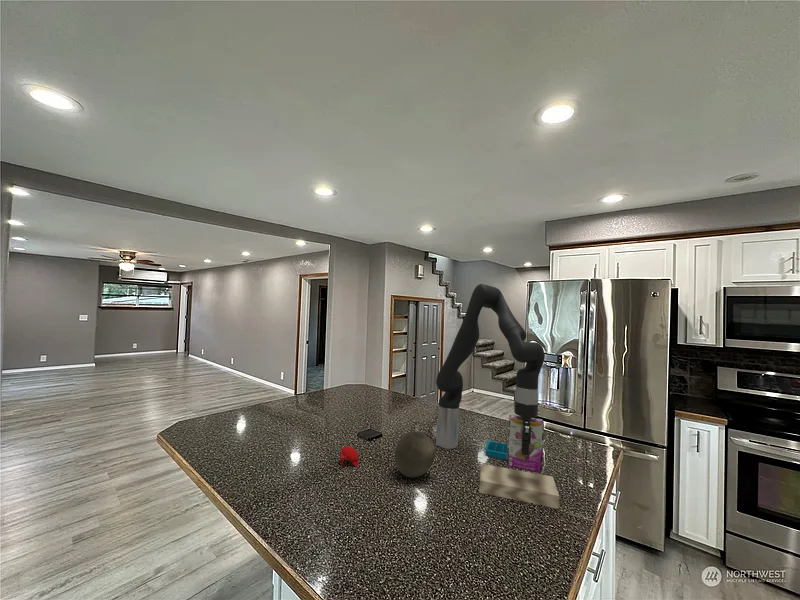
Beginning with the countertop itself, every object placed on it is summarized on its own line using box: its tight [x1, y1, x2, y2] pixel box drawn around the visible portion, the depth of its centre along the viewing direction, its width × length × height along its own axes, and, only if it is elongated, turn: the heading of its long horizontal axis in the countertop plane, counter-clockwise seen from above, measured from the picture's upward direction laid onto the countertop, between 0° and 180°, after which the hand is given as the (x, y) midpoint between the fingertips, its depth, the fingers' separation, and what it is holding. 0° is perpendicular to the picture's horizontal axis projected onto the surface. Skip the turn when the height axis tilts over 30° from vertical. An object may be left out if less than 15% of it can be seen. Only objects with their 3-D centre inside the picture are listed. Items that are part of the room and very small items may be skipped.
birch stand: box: [478, 463, 560, 510], centre depth 110 cm, size 24×13×4 cm, turn 73°
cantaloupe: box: [394, 430, 437, 479], centre depth 117 cm, size 14×14×15 cm
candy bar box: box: [506, 414, 545, 474], centre depth 110 cm, size 11×5×16 cm, turn 71°
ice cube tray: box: [484, 440, 508, 461], centre depth 138 cm, size 12×20×3 cm, turn 68°
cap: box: [339, 445, 360, 467], centre depth 123 cm, size 8×6×6 cm
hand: (524, 451), depth 110 cm, fingers closed on candy bar box, 5 cm apart
